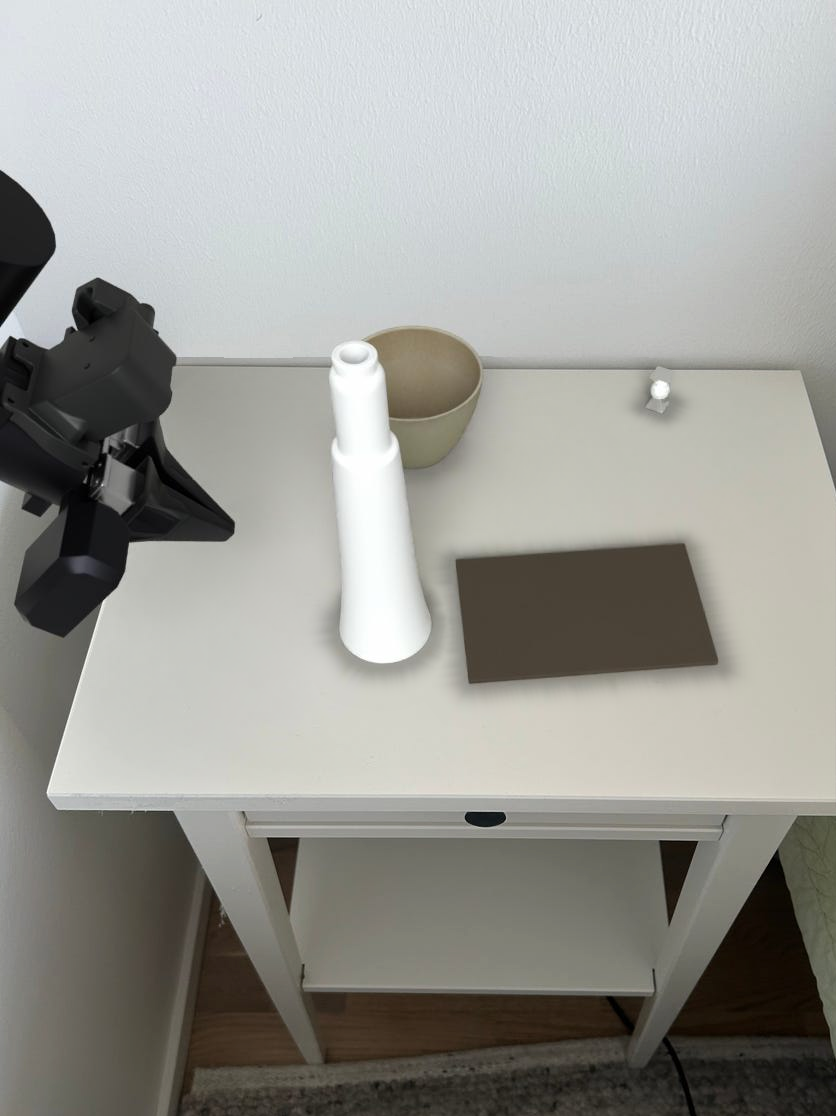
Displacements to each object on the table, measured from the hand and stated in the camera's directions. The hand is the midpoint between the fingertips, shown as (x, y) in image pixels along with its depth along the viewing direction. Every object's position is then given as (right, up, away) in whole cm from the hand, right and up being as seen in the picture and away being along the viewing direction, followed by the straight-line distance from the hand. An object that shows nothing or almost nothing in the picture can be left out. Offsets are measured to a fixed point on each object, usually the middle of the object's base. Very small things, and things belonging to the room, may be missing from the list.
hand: (231, 532), depth 58 cm
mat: (+21, -4, +9) cm, 23 cm away
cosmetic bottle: (+8, -5, +8) cm, 13 cm away
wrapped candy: (+28, +12, +21) cm, 37 cm away
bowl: (+10, +8, +18) cm, 22 cm away
